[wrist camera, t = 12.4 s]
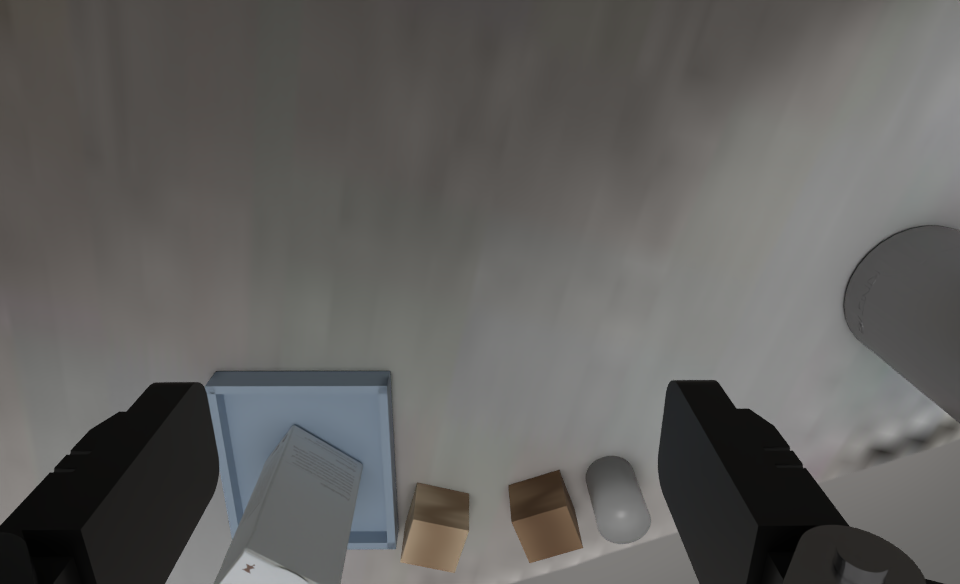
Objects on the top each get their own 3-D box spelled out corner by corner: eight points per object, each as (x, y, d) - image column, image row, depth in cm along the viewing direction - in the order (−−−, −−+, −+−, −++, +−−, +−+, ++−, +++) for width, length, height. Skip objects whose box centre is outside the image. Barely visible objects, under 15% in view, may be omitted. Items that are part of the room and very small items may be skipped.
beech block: (469, 492, 49) (468, 530, 46) (455, 532, 51) (454, 572, 47) (417, 481, 49) (413, 519, 45) (405, 522, 50) (400, 562, 47)
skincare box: (264, 461, 47) (199, 599, 36) (296, 418, 46) (239, 547, 34) (337, 501, 48) (297, 646, 37) (370, 461, 47) (339, 598, 36)
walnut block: (559, 469, 49) (566, 505, 45) (574, 509, 50) (582, 547, 46) (508, 484, 49) (511, 522, 45) (525, 523, 51) (529, 563, 47)
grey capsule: (635, 456, 48) (653, 501, 44) (631, 495, 50) (648, 543, 45) (587, 456, 48) (599, 502, 43) (584, 495, 49) (595, 543, 45)
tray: (390, 371, 45) (386, 385, 43) (398, 529, 50) (395, 549, 49) (215, 371, 45) (204, 386, 43) (242, 530, 50) (234, 550, 48)
